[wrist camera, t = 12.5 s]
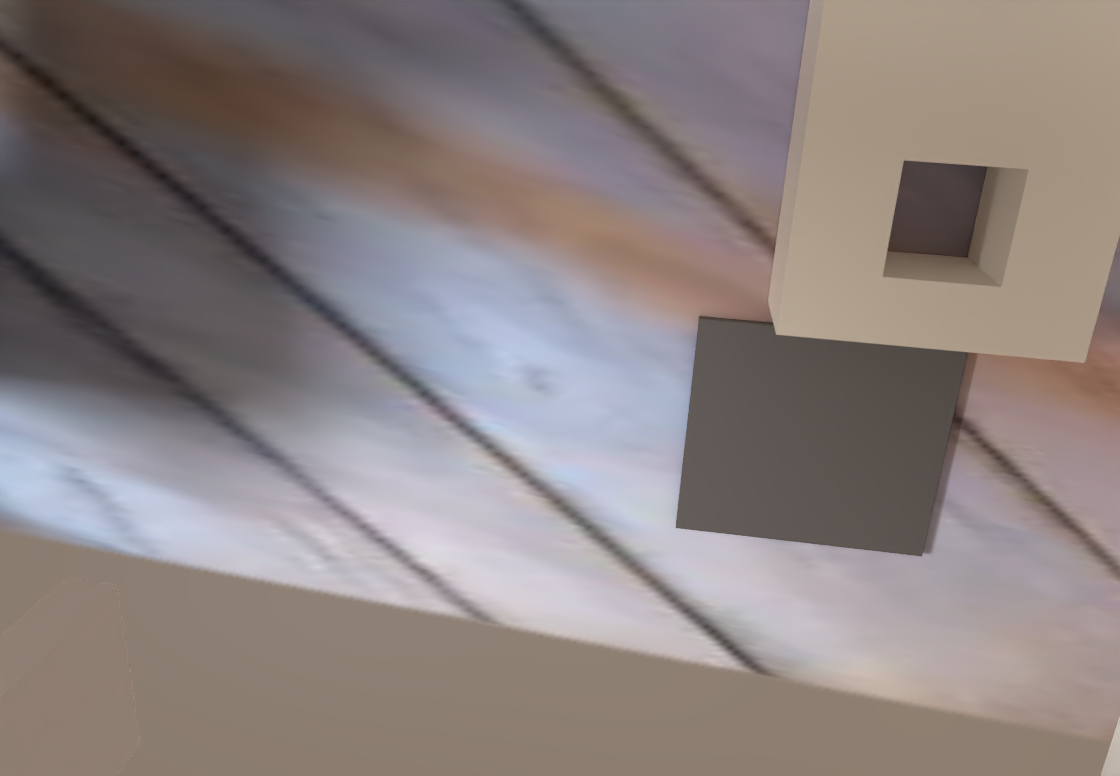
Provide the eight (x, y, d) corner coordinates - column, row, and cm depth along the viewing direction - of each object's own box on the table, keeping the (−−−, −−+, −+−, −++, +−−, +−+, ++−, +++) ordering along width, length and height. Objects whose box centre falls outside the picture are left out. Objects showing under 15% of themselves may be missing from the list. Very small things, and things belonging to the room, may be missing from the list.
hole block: (767, 301, 43) (776, 334, 38) (843, -238, 35) (864, -277, 31) (1042, 325, 42) (1084, 362, 37) (1182, -229, 34) (1257, -268, 29)
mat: (676, 523, 48) (675, 527, 47) (699, 316, 44) (699, 318, 43) (920, 552, 46) (921, 556, 46) (967, 340, 42) (969, 343, 42)
